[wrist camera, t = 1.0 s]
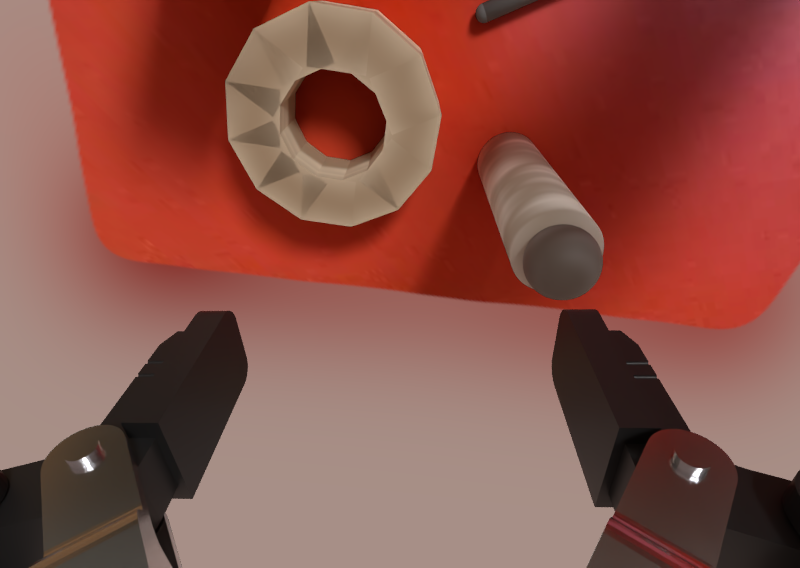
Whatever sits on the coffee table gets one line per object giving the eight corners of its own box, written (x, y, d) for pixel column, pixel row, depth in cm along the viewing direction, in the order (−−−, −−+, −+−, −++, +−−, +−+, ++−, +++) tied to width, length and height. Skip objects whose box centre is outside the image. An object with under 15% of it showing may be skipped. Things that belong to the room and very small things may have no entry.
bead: (392, -35, 26) (389, -39, 22) (460, 164, 32) (465, 185, 28) (211, 54, 29) (183, 63, 25) (303, 223, 34) (291, 248, 31)
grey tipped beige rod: (529, 122, 30) (617, 221, 17) (543, 178, 32) (631, 306, 19) (469, 145, 31) (509, 256, 18) (486, 198, 33) (534, 334, 20)
